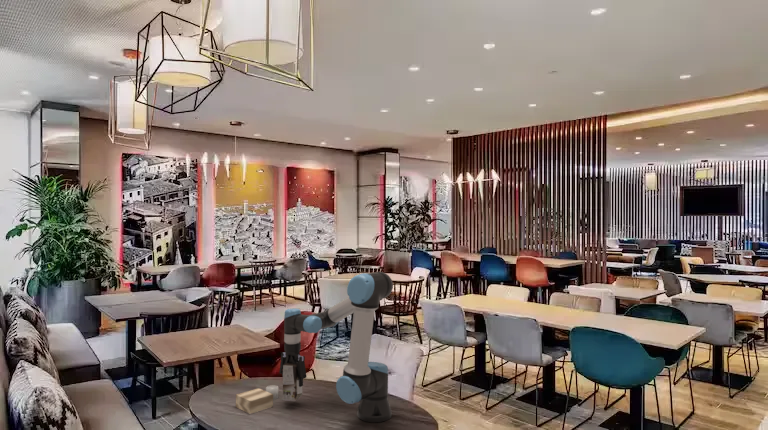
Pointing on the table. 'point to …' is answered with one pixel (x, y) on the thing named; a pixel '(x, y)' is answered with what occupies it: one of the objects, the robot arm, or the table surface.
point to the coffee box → (290, 382)
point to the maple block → (254, 400)
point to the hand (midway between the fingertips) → (292, 391)
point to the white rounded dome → (273, 390)
